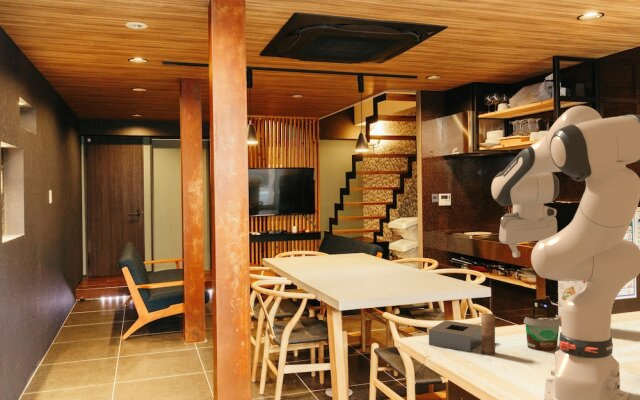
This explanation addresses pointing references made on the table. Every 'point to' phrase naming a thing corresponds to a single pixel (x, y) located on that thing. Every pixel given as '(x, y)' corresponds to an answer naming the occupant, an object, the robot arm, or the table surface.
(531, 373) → the table surface
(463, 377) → the table surface
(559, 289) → the cracker box
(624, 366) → the table surface
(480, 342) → the socket block
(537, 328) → the food container
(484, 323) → the walnut peg
